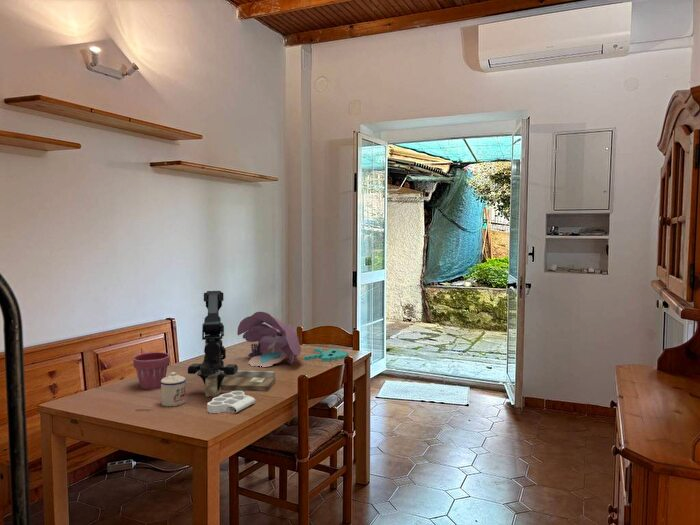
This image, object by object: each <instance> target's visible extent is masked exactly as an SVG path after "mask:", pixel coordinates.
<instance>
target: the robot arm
mask: <svg viewBox="0 0 700 525" xmlns="http://www.w3.org/2000/svg"><path fill="white" fill-rule="evenodd" d="M224 296H225V295H224V292H222V290H207V291H206V292H203V302H205V308H206V310H207V316H205V317H204V323H202V331H201V340H202V341H204V343H205V344H204V350H203V353H204V355H203V356H204V357H203V361H202V363H192V364H190V365H189V366H188V367H187V374H189V375H195V374H196V376H197V377H200V378H201V380H202V381H203V384H204V386H205V388H206V384H205V379H206V378H207V377H208V376H210V375H215V371H219V374H218V375H217V377H218V386H217V389H218V391H219V390H220V387H221V384H222V381H223V379H224V377H225V376H226V375H234V374H235V373H236V372H237V371H239V370H238V369H239V368H238V364H236V363H235V364H230V363H228V364H227V365H224V364H225V363H224V360H225V359H226V354H227V353H226V352H227V351H226V348H225V346H223V341H222V340H223V337H224V336H225V325H224V323H223V322H221V321H222V320H221V317H220V316H219V314H220V313H219V312H220V310H221V308H222V307H223V302H224V299H225V298H224Z"/></svg>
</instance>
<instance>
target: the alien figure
mask: <svg viewBox="0 0 700 525" xmlns="http://www.w3.org/2000/svg"><path fill="white" fill-rule="evenodd" d="M314 351H317V352H320V353H317V352H316V353H315V354H311V355H305V356H304V359H303V360H304V361H310V360H315V359H316V358H319V359H320V360H321V362H331V360H335V361H336V359H341V360H344V359H343V358H344V357H346V356H348V357H349V352H346V351H343V350H340V349H338V348H329V349H328V350H327V351H326V350H324V349H323V350H322V349H321V348H320V347H314V348H313V352H314ZM320 357H321V358H320Z"/></svg>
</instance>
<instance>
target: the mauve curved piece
mask: <svg viewBox="0 0 700 525" xmlns="http://www.w3.org/2000/svg"><path fill="white" fill-rule="evenodd" d="M236 333H237V336H240V335H242V334H243V335H242V339H245V341H246V342H248V343H251V345H250V346H251V347H250V348H251V352H250V353H248V358H249V361H248V365H249V364H250V365H251V366H250V365H249V366H250V367H254V366H255V365H256V366H260V367H259V368H266V367H271V366H272V367H273V365H274V364H278V363H281V362H282V361H284V360H285V359H286V358H287V361H286V362H287V364H289V363H290V364H289V365H293V364H294V359H296V358H297V357H298V356H299V355H300V354H301V351H302V349H301V344H300V340H299V337H298V333H297V331H296V330H295V329H294V328H293V326H291V325H290V324H285V323H284V322H283V321H282V320H279V319H278V318H276V317H275V316H272V315H271V314H269V313H268V312H265V311H257V312H254V313H253V314H251V315H250V316H247V317H245V318H243V319H241V321H240V323H239V325H238V326H237V332H236ZM255 342H257V343H255ZM261 366H262V367H261Z"/></svg>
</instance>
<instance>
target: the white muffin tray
mask: <svg viewBox="0 0 700 525" xmlns="http://www.w3.org/2000/svg"><path fill="white" fill-rule="evenodd" d="M255 403H256V398H254V397H253V396H251V395H246V394H245V391H244V390H231V391H230V392H226V393H223V394H219V395H217V396H216V397H213V398H212V399H211V401H208V402H207V405H206V406H207V408H206V409H207V410H206V412H207V413H208V412H209V413H208V414H211V413H218V414H221V412H222V413H229V414H231V413H230V412H232V411H233V410H235V409H236V412H235V411H234V412H235V413H234V414H236V413H238V412H240V411H242V410H244V409H246V408H247V407H249V406H251V405H253V404H255Z"/></svg>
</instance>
